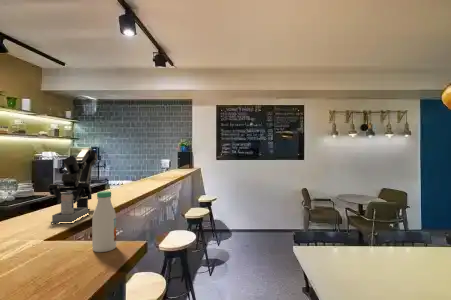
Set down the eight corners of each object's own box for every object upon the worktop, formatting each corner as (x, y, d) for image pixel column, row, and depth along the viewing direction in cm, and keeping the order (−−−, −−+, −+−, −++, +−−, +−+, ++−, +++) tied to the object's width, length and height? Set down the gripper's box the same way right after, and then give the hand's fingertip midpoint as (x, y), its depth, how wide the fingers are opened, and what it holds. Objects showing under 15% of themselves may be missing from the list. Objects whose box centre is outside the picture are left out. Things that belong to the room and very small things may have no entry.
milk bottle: (110, 252, 96) (110, 193, 96) (88, 252, 96) (87, 193, 96) (119, 245, 104) (119, 190, 104) (98, 245, 104) (98, 190, 104)
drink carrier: (70, 215, 151) (70, 207, 151) (89, 214, 151) (89, 207, 151) (50, 224, 133) (50, 215, 133) (72, 223, 133) (72, 215, 133)
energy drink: (74, 217, 142) (74, 193, 142) (72, 219, 137) (72, 194, 137) (62, 218, 140) (62, 193, 140) (59, 220, 135) (59, 195, 135)
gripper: (48, 168, 140) (39, 194, 129) (89, 167, 144) (83, 192, 133) (55, 182, 148) (46, 207, 137) (93, 181, 152) (88, 206, 141)
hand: (66, 203), depth 137 cm, fingers open, 7 cm apart
